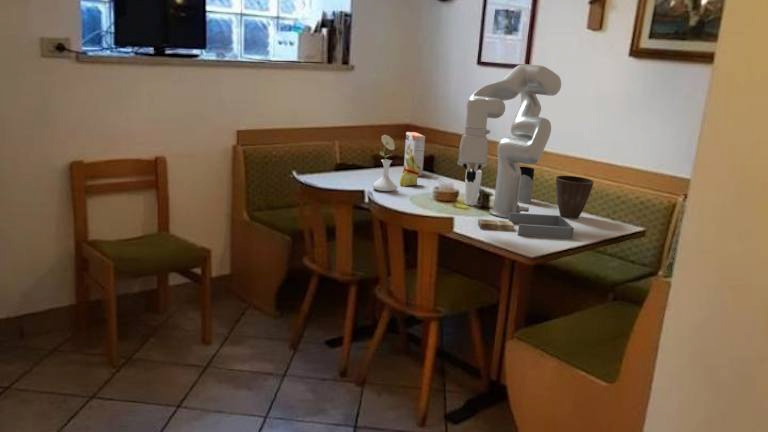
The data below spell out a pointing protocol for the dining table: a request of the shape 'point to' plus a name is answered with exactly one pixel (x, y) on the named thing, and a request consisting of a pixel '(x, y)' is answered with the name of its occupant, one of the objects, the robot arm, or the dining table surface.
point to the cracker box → (415, 148)
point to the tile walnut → (487, 224)
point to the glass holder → (526, 185)
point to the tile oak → (504, 225)
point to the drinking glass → (472, 189)
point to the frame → (554, 229)
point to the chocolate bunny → (410, 172)
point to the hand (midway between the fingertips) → (470, 181)
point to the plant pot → (572, 195)
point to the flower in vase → (386, 168)
